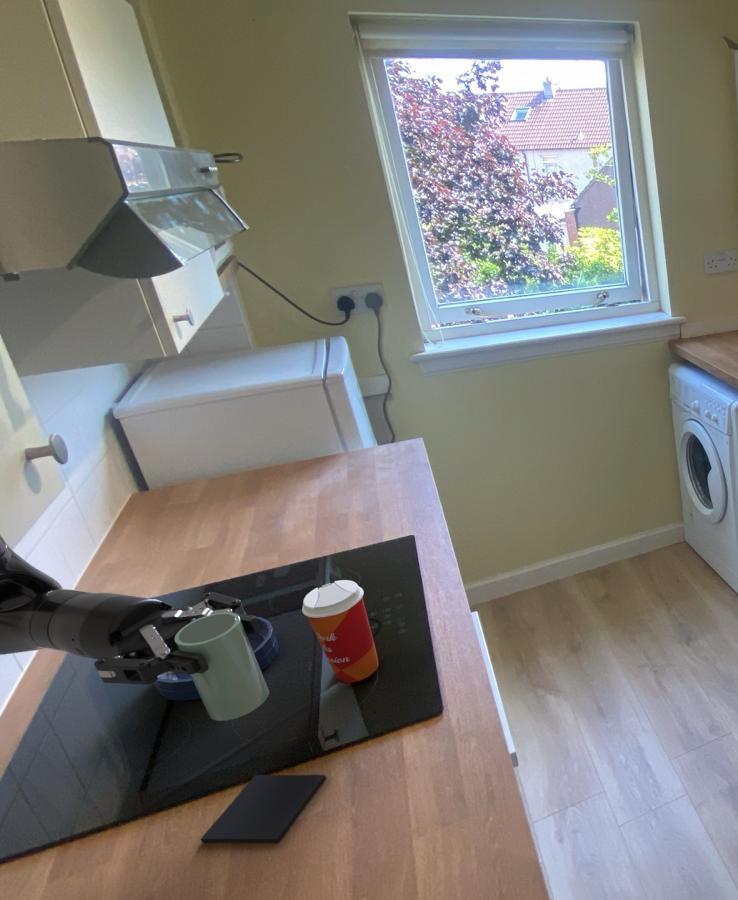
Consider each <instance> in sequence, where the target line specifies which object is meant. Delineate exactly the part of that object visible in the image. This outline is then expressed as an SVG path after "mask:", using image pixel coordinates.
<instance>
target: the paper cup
mask: <svg viewBox="0 0 738 900" xmlns="http://www.w3.org/2000/svg"><path fill="white" fill-rule="evenodd" d="M364 595H365V594H364V589H363V588H362V587H360V586H359V585H358V583H357V582H355V581H353V580H349V579H342V580H341V579H340V580H339V579H338V580H335V581H334V582H332V583H331V582H329V583H326V584H323V585H321V587H319V588H318V586H317V587H315V588H314V589H312V590H311V591H310V592H308V593H307V594H306V595H305V597H304V598H303V601H302V608H301V612H302V614H303V615H304V616H306V617H307V619H308V621H309V623H310V625H311V628H312V629H313V631H314V633H315V635H316V638H317V640H318V642H319V645H320V647H321V649H322V650H323V654H325V657H326V659H327V661H328V663H329V665H330V667H331V669H332V671H333V673H334V675H335V677H336V678H337V679H338V680H339V682H340V683H343V684H353V683H357V682H360V681H363V680H365V679H367V678H368V677H370V676H372V675H373V674H374V673H375V672H376V671H377V669H378V668H379V658H378V657H379V656H378V653H377V649H376V645H375V641H374V637H373V633H372V629H371V625H370V621H369V617H368V613H367V609H366V605H365V602H364Z"/></svg>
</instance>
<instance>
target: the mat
mask: <svg viewBox="0 0 738 900" xmlns="http://www.w3.org/2000/svg"><path fill="white" fill-rule="evenodd" d="M326 779H327V776H326V775H325V774H255V775H254V776H252V778H251V779H250V780H249V781H248V783H247V784H246V785H245V786H244V787H243V789H242V790H241V791H240V792H239V793H238V795H237V796H236V797H235V798H234V799H233V801H232V802H231V803H230V804H229V805H228V806H227V808H226V809H225V810H224V811H223V812H222V813H221V814H220V816H219V817H218V818H217V819H216V820H215V822H213V824H212V825H211V826H210V827H209V829H207V831H206V832H205V833H204V834H203V835H202V836H201V838H200V841H201V843H268V844H269V843H270V844H271V843H273V844H274V843H275V844H276V843H277V844H278V843H279V842H280V841H281V840H282V838H284V836H285V834H286V833H287V832H288V830H289V829H290V827H292V825H293V823H294V822H295V821H296V820H297V818H298V817H299V816H300V814H301V813H302V811H304V809H305V807H306V806H307V805H308V804H309V802H310V800H311V799H312V798H313V796H315V794H316V793H317V792H318V790H319V789H320V788H321V786H322V785H323V784H324V782H325V781H326Z"/></svg>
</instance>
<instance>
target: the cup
mask: <svg viewBox="0 0 738 900" xmlns="http://www.w3.org/2000/svg"><path fill="white" fill-rule="evenodd" d="M174 640H175V643H176V645H177V647H178V650H179V651H184V652H191V653H197V654H201V655H203V656H204V657H205V659H206V662H207V664H208V666H209V669H208V670H207V671H205V672H204V673H203V674H199V673H195V674H190V676H191V678H192V680H193V682H194V685H195V687H196V689H197V691H198V693H199V695H200V698H201V699H200V700H201V702H202V704H203V707H204V708H205V711H206V713H207V715H208V717H209V718H210V719H212V720H213V721H218V722H225V721H232V720H235V719H238V718H241V717H243V716H246V715H248V714H250V713H252V712H254V711H255V710H257V709H258V708H259V707H261V706H262V705H263V704H264V703H265V702H266V700H267V699H268V697H269V695H270V690H269V687H268V684H267V681H266V680H265V677H264V674H263V672H262V671H261V669H260V667H259V664H258V662H257V659H256V657H255V654H254V652H253V649H252V647H251V644H250V642H249V639H248V637H247V635H246V632H245V630H244V627H243V625H242V622H241V620H240V617H239V616H238V615H237V614H235V613H231V612H222V613H215V614H211V615H207V616H204V617H202V618H199V619H197V620H195V621H193V622H191V623H189V624H187V625H186V626H184V627H183V628H182V629H181V630H179V631H178V633H177V634H176V636H175V639H174Z"/></svg>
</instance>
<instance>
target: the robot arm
mask: <svg viewBox="0 0 738 900" xmlns="http://www.w3.org/2000/svg"><path fill="white" fill-rule="evenodd" d="M200 597H201V599H202V601H201V602H200V601H199V603H197V604H195V605H193V606H189V605H188V606H185V605H184V606H179V607H174V606H172V605H171V604H168V603H166V602H164V601H162V600H159V599H156V598H149V597H143V596H135V595H128V594H120V593H114V592H91V591H84V590H77V589H66V588H63V586H62V585H61V584H60V582H58V581H57V580H56V579H55V578H53V577H52V576H50V575H48V574H47V573H45V572H43V571H41V570H39V569H38V568H37V567H35V566H34V565H32V564H30V563H29V562H28V561H27V560H25V559H24V558H22V557H21V556H20V555H19V554H17V553H16V551H14V550H13V549H12V548H11V547H10V546H9V544H8V543H7V542H6V541H5V539H4V538H3V536H2V535H1V534H0V656H3V655H4V656H5V655H12V654H19V653H26V652H34V651H39V650H44V649H46V650H52V651H59V652H66V653H69V654H71V655H74V656H78V657H82V658H87V659H93V660H95V662H94V663H93V665H94V668H95V669H96V671H97V673H98V675H99V676H100V679H101V681H102V683H104V684H122V685H123V684H124V685H126V684H127V685H146V686H147V685H151V684H154V683H153V682H155V681H156V680H157V679H158V677H157V676H159V675H161V674H163V673H165V674H171V673H173V672H177V673H183V674H195V673H199V674H203V673H204V672H205V671H207V670H208V669H209V666H208V664H207V662H206V659H205V657H204V656H203V655H201V654H197V653H191V652H184V651H178V647H177V645H176V643H175V640H174V639H175V636H176V634H177V633H178V631H179V630H181V629H182V628H183V627H184V626H186V625H187V624H189V623H191V622H193V621H195V620H197V619H199V618H202V617H204V616H207V615H211V614H215V613H222V612H231V613H235V614H237V615H238V616H239V617H240V620H241V622H242V625H243V627H244V630H245V632H246V635H252V636H255V635H256V634H258V633H259V632H260V631H261V630H260V625H259V623H258V620H257V618H256V617H257V616H256V615H253V614H247V613H246V611H245V609H244V607H243V603H242V600H241V599H239V598H236V597H232V596H228V595H225V594H222V593H218V592H215V591H208V592H204V593H203V594H201V596H200ZM151 659H152V660H151Z"/></svg>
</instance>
